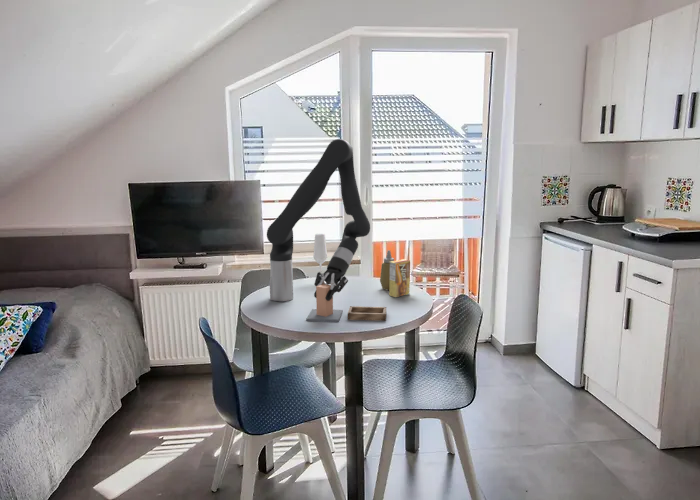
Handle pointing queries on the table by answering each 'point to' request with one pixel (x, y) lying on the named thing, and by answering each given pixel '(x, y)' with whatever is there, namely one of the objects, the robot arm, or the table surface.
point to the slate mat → (331, 318)
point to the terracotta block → (323, 300)
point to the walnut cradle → (367, 313)
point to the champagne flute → (320, 250)
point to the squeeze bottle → (386, 271)
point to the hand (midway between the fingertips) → (321, 298)
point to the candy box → (399, 278)
